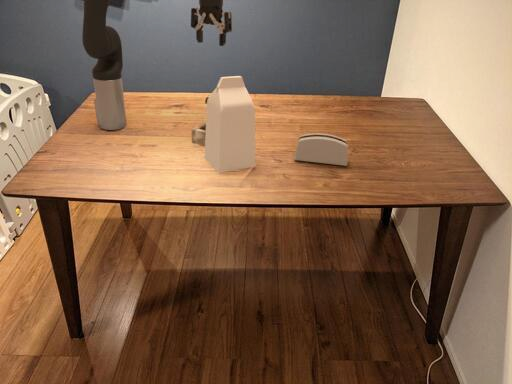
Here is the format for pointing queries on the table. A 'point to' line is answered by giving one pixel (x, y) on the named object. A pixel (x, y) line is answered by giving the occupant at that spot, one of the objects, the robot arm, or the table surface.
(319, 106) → the table surface
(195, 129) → the socket block
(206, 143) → the milk
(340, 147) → the napkin holder
